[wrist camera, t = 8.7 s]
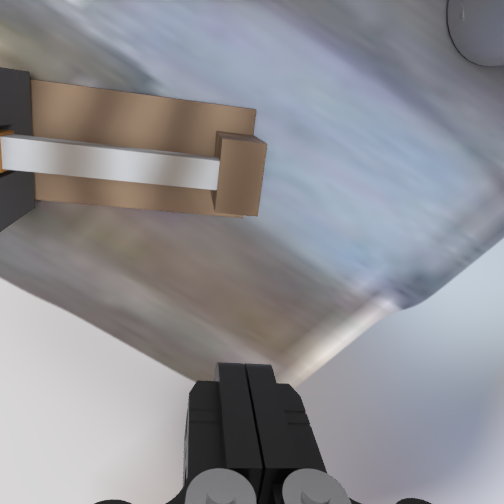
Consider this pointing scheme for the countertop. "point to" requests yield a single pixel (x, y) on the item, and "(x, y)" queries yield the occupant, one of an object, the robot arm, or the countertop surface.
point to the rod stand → (138, 151)
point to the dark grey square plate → (19, 120)
